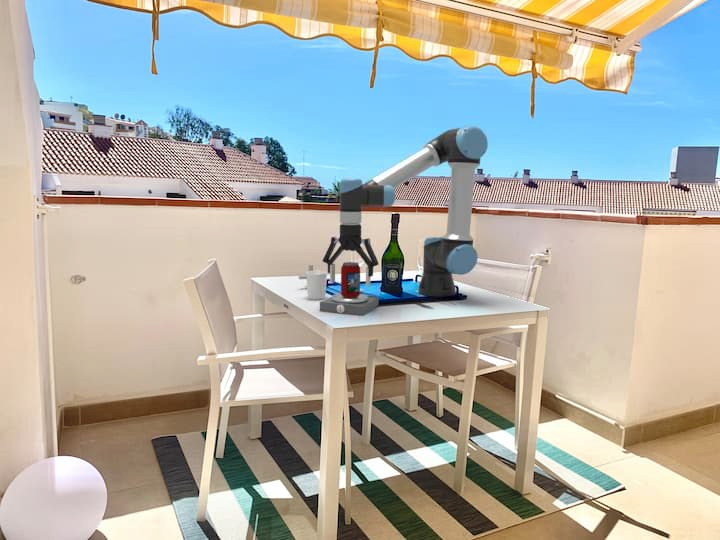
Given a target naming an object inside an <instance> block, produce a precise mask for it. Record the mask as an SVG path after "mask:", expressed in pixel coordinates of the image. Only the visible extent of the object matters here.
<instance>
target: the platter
mask: <svg viewBox="0 0 720 540" xmlns="http://www.w3.org/2000/svg"><path fill="white" fill-rule="evenodd" d="M338 293H339V294H338ZM338 293H335V294H333V295H331V297H332V301H334V302H337V303H345V304H356V303H363V302H366V301H368V296H367V295H368V294H365V293H360V295H359V296H358V297H356V298H345V297H344V296H342V295H341V292H338Z"/></svg>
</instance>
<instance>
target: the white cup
mask: <svg viewBox="0 0 720 540" xmlns="http://www.w3.org/2000/svg"><path fill="white" fill-rule="evenodd" d="M305 274H306V276H307V279H306V287H307V288H306V291H307V298H308V300H309V299H310V300H315V301H316V300H325V299H326V297H327V296H326V291H327V280H328V279H327V278H328V277H327V275H328V271H324V270H313V271H309V270H308V271H306V273H305Z"/></svg>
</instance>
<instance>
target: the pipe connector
mask: <svg viewBox="0 0 720 540" xmlns="http://www.w3.org/2000/svg"><path fill="white" fill-rule="evenodd" d="M309 271H314V264H308V272H309ZM298 279H299V280H307V276H306V273H305V274H299V275H298Z"/></svg>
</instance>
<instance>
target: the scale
mask: <svg viewBox="0 0 720 540" xmlns="http://www.w3.org/2000/svg"><path fill="white" fill-rule="evenodd" d="M339 293H340V292H338V293H337V294H339ZM366 295H367V296H368V301H366V302H363V303H356V304H345V303H337V302H334V301H332V296H330V297H328V298H325V299H323V300H321V301H320V302H319V311H320V312H326V311H327V312H326V313H334V314H336V313H337V314H344V315H353V316H365V315H366V314H367V313H369V312H371V311H372V310H373V309H375V308H376V307H378V306H379V297H378V295H368V294H366Z"/></svg>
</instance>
